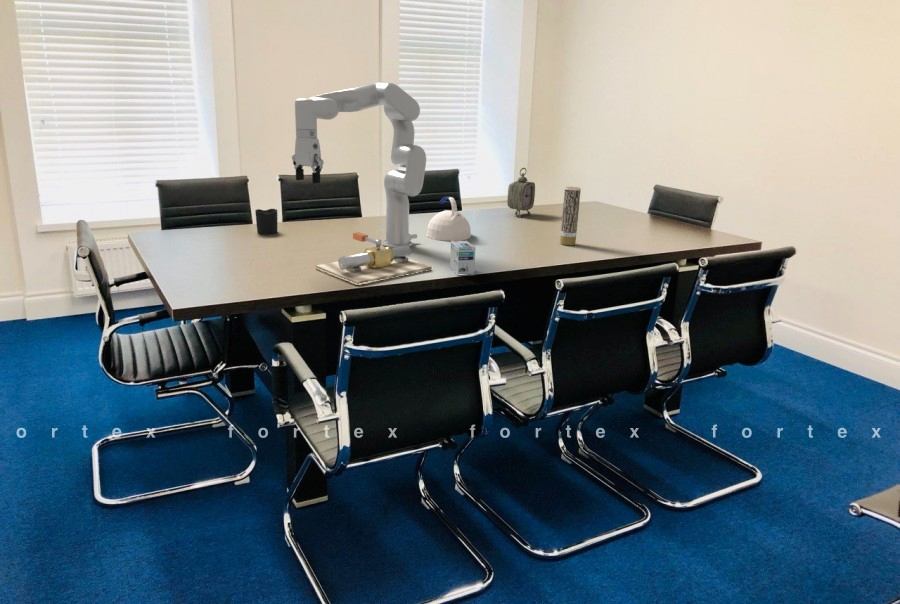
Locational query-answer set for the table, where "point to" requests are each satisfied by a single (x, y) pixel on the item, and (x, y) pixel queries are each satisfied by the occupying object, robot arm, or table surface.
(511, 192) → the tabletop clock
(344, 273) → the valve board
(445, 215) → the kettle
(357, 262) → the pipe and valve
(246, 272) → the table surface
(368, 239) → the valve handle
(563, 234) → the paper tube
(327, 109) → the robot arm
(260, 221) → the pen holder
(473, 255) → the light bulb box
